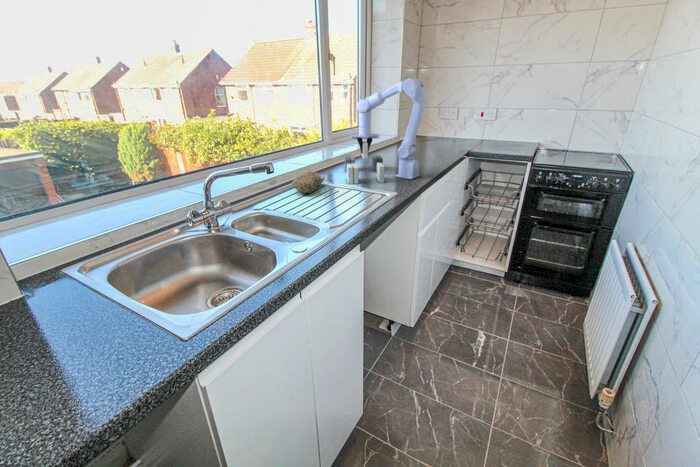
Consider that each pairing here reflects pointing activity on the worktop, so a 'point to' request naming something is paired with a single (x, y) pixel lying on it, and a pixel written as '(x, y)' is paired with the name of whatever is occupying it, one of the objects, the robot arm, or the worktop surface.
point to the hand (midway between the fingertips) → (364, 153)
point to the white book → (365, 150)
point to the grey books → (373, 161)
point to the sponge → (307, 182)
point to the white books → (354, 173)
